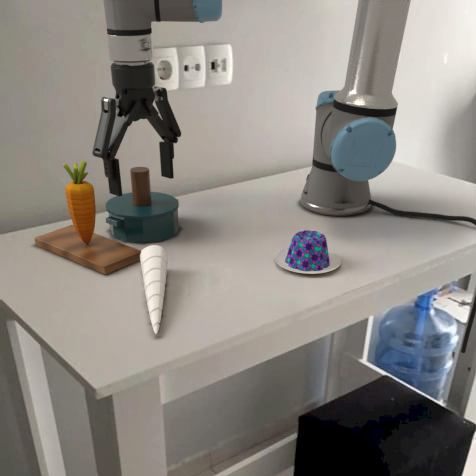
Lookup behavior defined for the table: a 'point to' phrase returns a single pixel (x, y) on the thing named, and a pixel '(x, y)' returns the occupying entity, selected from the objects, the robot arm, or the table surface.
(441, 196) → the table surface
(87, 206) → the carrot
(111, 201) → the lid
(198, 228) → the table surface
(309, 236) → the pudding
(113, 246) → the board
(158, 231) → the pot
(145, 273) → the unicorn horn
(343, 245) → the table surface
